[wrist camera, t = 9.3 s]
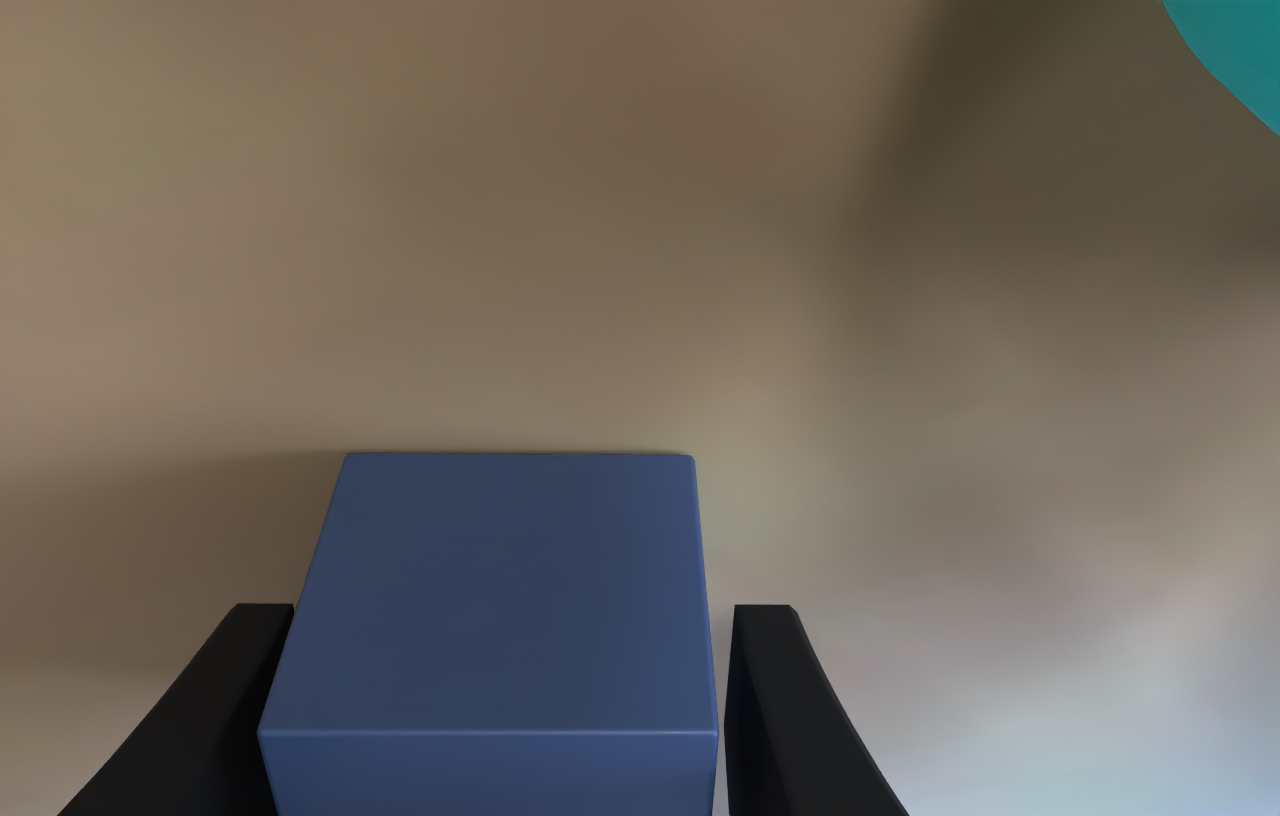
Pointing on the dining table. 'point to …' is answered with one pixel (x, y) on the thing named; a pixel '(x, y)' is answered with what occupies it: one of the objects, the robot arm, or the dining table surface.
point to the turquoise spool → (1236, 48)
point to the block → (500, 643)
